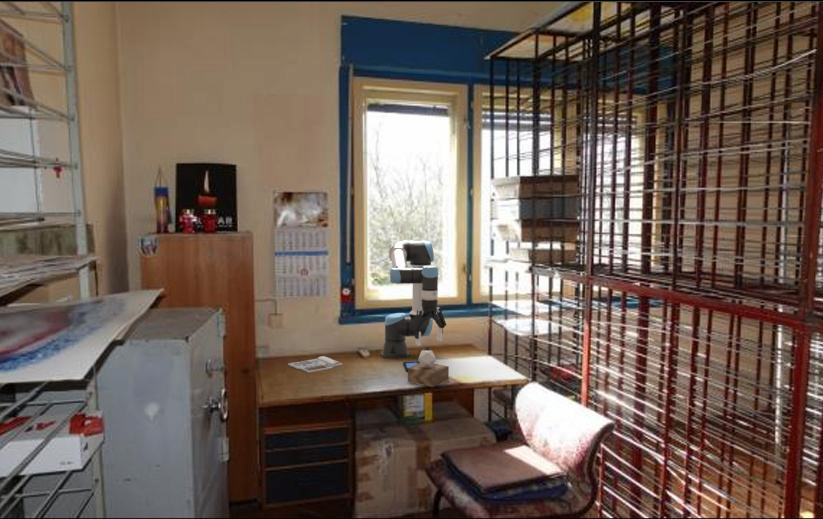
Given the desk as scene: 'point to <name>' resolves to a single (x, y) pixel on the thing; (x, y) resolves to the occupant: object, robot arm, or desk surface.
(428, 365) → the die
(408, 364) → the handheld game console
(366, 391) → the desk surface
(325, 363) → the office telephone
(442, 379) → the walnut block
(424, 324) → the robot arm
